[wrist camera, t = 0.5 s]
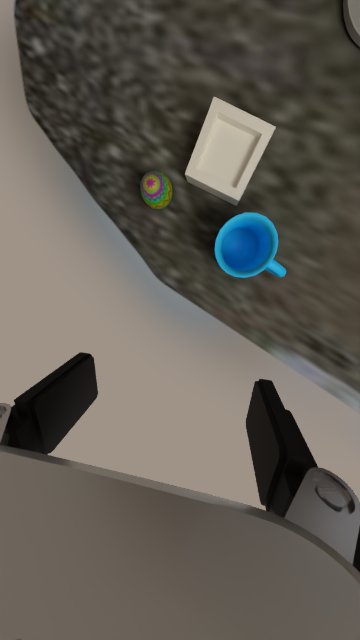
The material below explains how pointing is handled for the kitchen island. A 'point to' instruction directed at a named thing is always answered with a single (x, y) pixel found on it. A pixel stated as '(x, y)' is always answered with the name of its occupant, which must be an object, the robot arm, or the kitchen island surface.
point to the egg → (156, 189)
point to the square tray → (227, 151)
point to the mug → (248, 246)
